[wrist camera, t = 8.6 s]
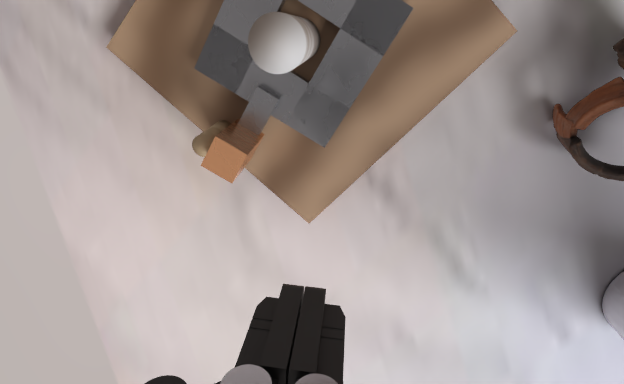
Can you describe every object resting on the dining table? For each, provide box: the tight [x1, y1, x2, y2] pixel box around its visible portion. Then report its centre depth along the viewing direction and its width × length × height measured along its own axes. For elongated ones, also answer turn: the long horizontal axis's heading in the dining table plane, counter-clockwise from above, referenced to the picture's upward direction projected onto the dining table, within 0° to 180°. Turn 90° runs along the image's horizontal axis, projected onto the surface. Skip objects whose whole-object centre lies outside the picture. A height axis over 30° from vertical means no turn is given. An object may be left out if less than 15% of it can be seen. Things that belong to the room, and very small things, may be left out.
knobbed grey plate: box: [194, 0, 414, 183], centre depth 26 cm, size 16×12×7 cm
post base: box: [107, 0, 517, 223], centre depth 25 cm, size 22×22×12 cm
